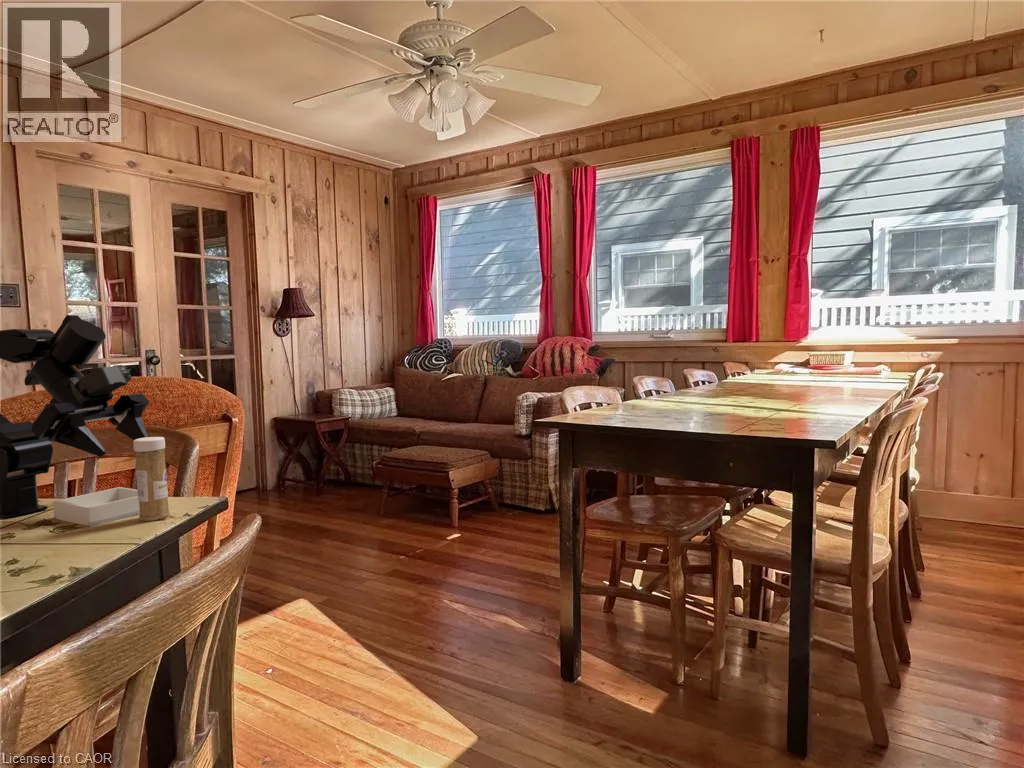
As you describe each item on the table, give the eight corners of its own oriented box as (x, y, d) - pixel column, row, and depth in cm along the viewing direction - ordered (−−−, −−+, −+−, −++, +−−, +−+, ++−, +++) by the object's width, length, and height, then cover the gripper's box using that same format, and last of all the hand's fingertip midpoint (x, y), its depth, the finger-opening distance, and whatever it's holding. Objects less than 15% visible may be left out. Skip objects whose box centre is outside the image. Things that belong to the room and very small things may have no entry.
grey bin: (54, 518, 107) (53, 501, 107) (120, 503, 117) (119, 486, 117) (90, 526, 102) (88, 508, 102) (156, 509, 112) (155, 492, 111)
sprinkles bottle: (171, 518, 106) (165, 438, 105) (139, 523, 103) (133, 441, 102) (168, 512, 109) (163, 435, 108) (137, 517, 107) (132, 438, 106)
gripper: (39, 351, 97) (105, 423, 96) (136, 349, 115) (193, 409, 114) (3, 403, 99) (67, 474, 98) (103, 392, 118) (158, 452, 116)
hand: (126, 449), depth 106 cm, fingers open, 9 cm apart
